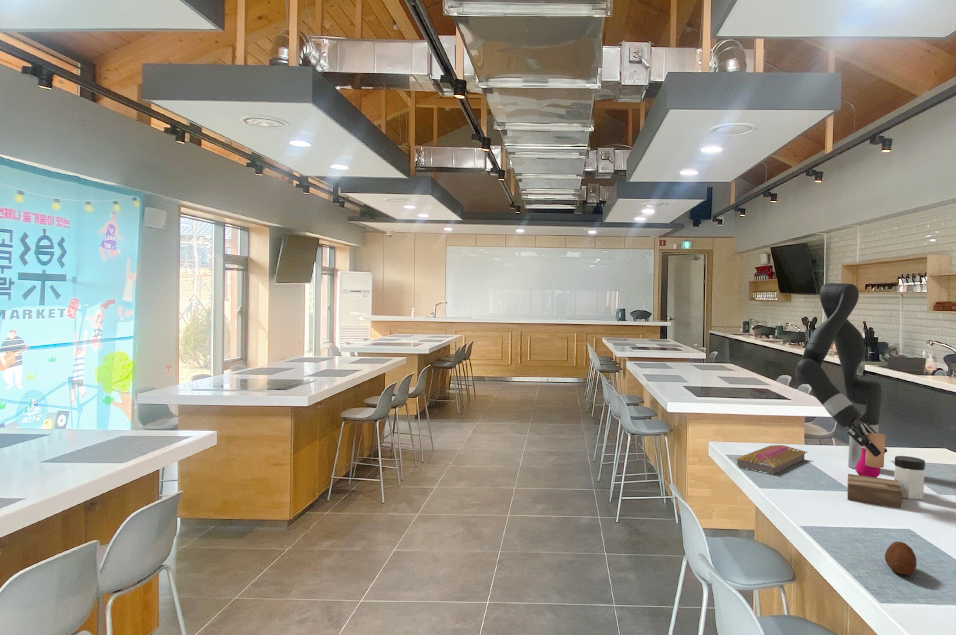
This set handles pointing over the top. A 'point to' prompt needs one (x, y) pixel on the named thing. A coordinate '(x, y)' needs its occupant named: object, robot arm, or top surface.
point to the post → (880, 444)
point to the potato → (901, 558)
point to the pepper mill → (864, 469)
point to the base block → (874, 490)
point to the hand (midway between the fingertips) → (881, 453)
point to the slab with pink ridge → (771, 458)
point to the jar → (910, 476)
